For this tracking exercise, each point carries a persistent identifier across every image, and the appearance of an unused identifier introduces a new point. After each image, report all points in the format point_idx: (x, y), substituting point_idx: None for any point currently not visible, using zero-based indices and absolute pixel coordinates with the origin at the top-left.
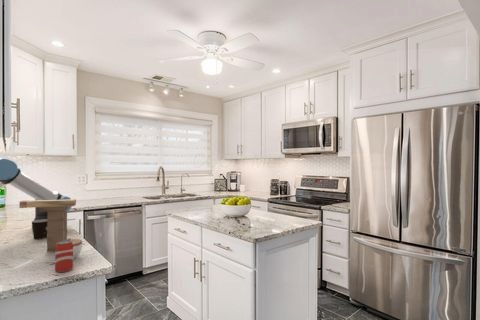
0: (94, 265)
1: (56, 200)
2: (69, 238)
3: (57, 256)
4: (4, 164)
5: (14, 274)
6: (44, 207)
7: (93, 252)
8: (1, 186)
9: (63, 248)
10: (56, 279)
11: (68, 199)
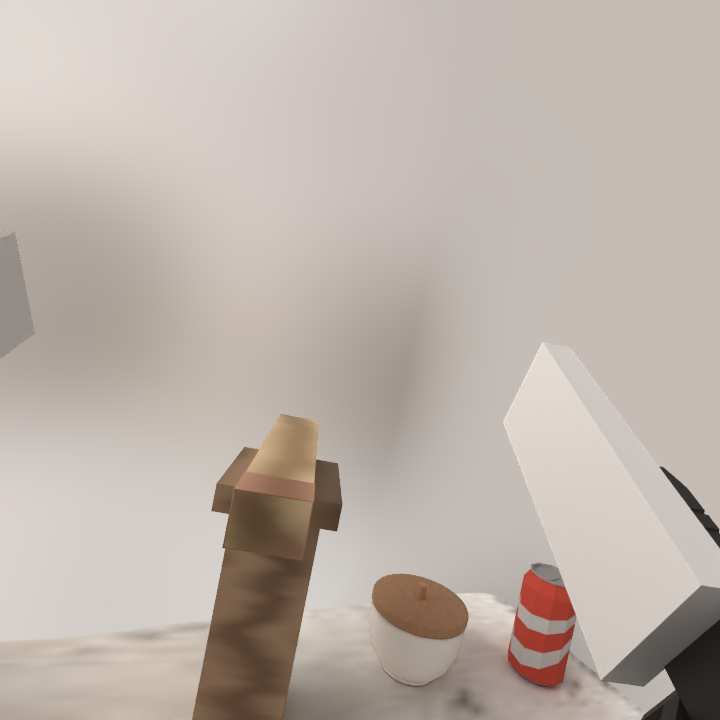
0: (480, 612)
1: (304, 435)
2: (423, 584)
3: (573, 628)
4: None
5: None
6: (331, 492)
7: (348, 608)
8: (24, 326)
9: None
10: (607, 683)
11: (279, 420)
